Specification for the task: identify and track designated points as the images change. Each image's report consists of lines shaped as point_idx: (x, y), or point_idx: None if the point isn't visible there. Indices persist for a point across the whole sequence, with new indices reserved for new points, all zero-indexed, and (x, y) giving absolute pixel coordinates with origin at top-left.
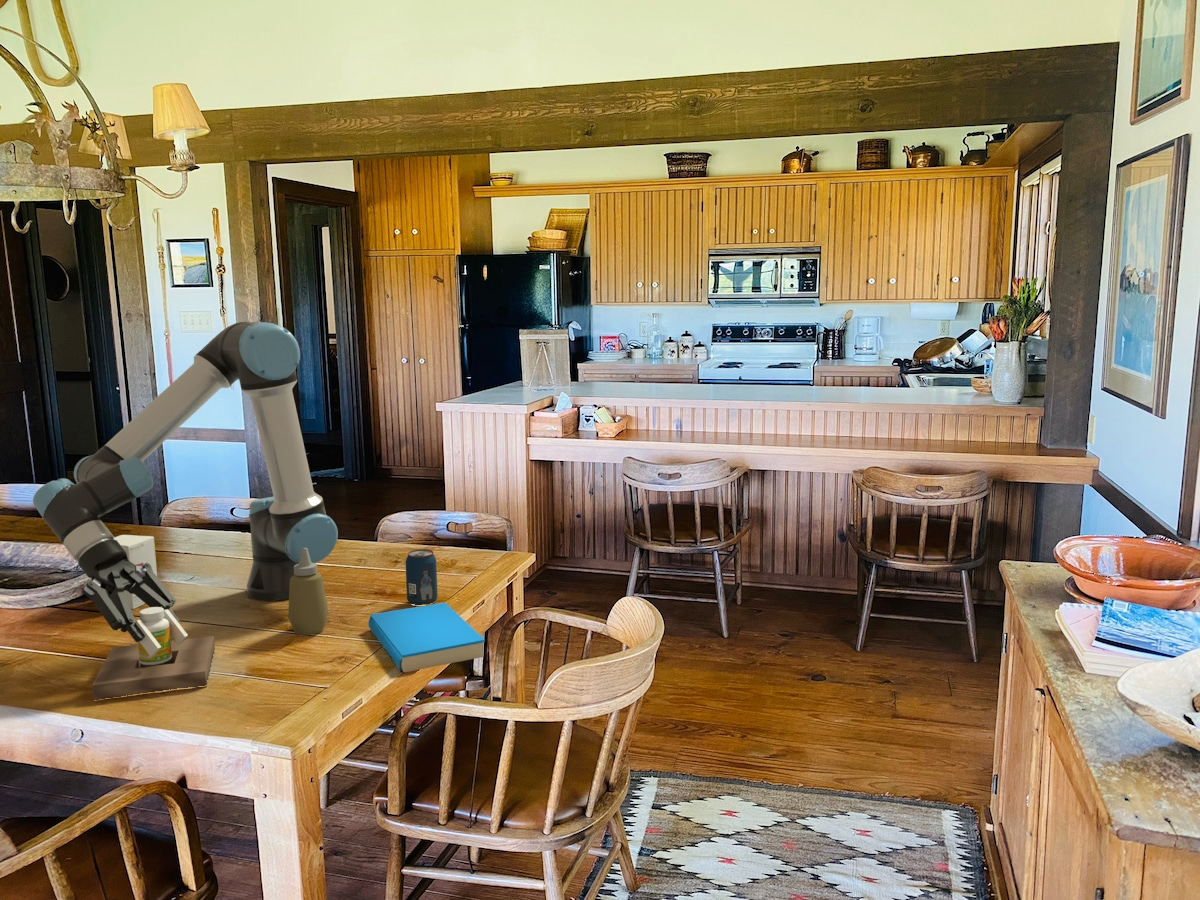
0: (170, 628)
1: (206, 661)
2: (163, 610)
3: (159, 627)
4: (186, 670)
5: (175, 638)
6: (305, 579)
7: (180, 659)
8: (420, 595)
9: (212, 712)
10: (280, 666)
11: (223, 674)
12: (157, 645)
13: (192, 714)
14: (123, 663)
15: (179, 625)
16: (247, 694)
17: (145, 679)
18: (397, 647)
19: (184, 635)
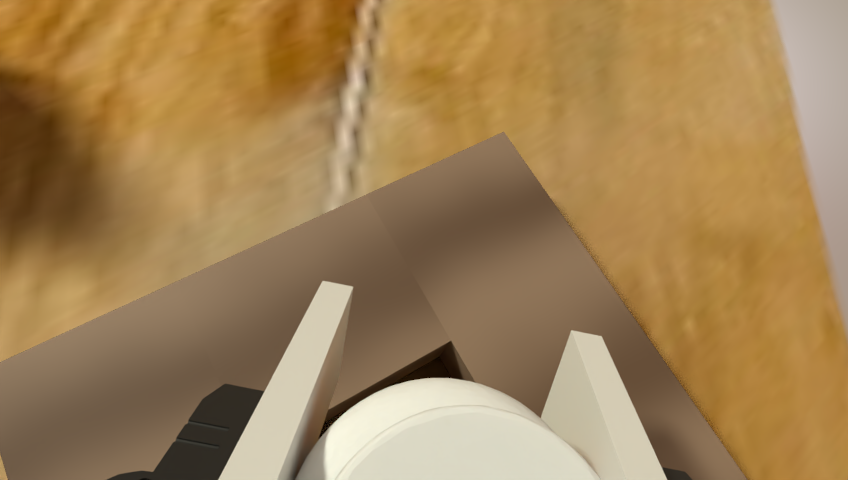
0: (310, 435)
1: (393, 187)
2: (403, 419)
3: (512, 398)
4: (518, 219)
5: (331, 391)
6: None
7: (390, 342)
8: None
9: (657, 50)
10: (246, 5)
11: (353, 172)
12: (594, 348)
13: (694, 100)
14: None
15: (302, 338)
16: (506, 10)
17: (663, 365)
18: None
19: (346, 292)
